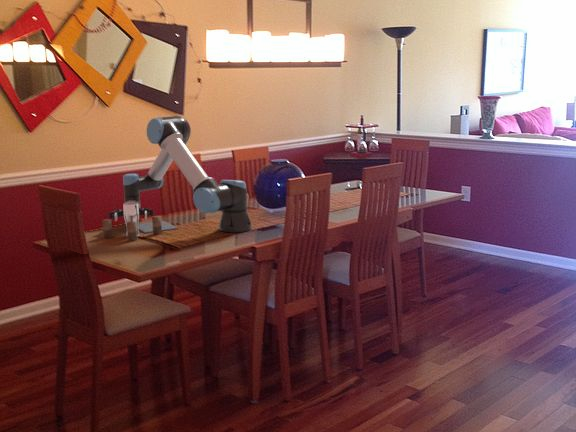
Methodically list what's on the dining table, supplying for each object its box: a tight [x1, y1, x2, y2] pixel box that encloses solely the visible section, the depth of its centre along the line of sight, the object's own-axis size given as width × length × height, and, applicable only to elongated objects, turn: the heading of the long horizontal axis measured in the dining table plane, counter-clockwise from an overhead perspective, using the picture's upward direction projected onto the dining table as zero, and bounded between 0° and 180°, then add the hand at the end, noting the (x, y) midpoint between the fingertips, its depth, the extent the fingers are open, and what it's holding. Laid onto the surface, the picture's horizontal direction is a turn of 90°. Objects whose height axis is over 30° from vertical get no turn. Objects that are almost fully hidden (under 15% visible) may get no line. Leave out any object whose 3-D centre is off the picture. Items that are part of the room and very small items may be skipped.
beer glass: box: [122, 202, 141, 238], centre depth 320 cm, size 7×7×15 cm
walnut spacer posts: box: [102, 215, 163, 242], centre depth 319 cm, size 16×25×8 cm, turn 119°
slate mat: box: [138, 220, 179, 234], centre depth 338 cm, size 20×16×1 cm
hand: (130, 217), depth 323 cm, fingers open, 13 cm apart
